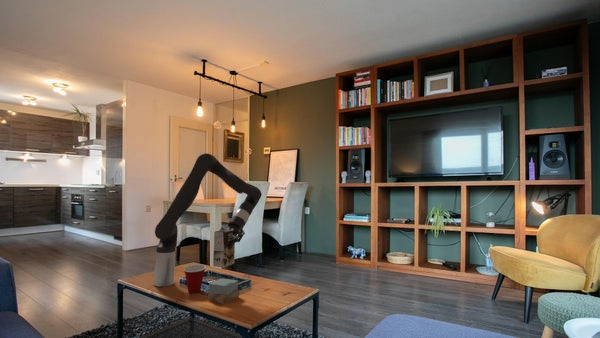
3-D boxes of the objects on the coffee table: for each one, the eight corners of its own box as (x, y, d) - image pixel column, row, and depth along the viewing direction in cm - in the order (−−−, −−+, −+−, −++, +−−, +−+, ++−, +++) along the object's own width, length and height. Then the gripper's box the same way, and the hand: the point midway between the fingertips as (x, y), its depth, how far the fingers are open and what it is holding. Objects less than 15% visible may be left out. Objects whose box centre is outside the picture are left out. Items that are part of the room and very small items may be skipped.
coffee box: (224, 268, 143) (225, 232, 144) (212, 266, 145) (213, 231, 146) (235, 263, 152) (235, 229, 153) (223, 262, 154) (224, 228, 155)
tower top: (209, 292, 144) (209, 283, 145) (220, 286, 153) (220, 278, 154) (227, 295, 141) (227, 286, 142) (237, 288, 150) (238, 280, 151)
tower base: (207, 301, 145) (207, 292, 145) (222, 294, 154) (222, 286, 154) (224, 305, 140) (224, 295, 141) (238, 298, 149) (238, 289, 149)
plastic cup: (177, 293, 153) (178, 268, 154) (191, 287, 163) (192, 263, 164) (196, 296, 150) (197, 270, 150) (209, 289, 160) (210, 265, 161)
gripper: (224, 214, 160) (207, 240, 149) (247, 216, 153) (230, 244, 142) (231, 223, 164) (214, 250, 153) (253, 225, 157) (237, 253, 146)
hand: (222, 247), depth 148 cm, fingers closed on coffee box, 7 cm apart
